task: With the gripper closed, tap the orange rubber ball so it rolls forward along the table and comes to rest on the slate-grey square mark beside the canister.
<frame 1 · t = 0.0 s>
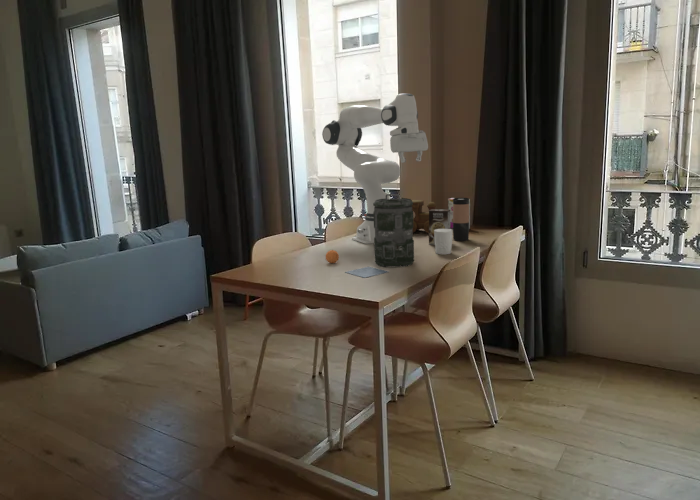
hand: (411, 161, 238), 39 cm above the table, tool pointing down, fingers open, 8 cm apart
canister: (394, 264, 215), on the table
coffee box: (439, 244, 252), on the table
white cup: (443, 253, 232), on the table
ball: (332, 256, 220), on the table
mark: (366, 272, 203), on the table
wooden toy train: (422, 232, 285), on the table
candy bar box: (458, 229, 289), on the table
travel mug: (460, 240, 259), on the table
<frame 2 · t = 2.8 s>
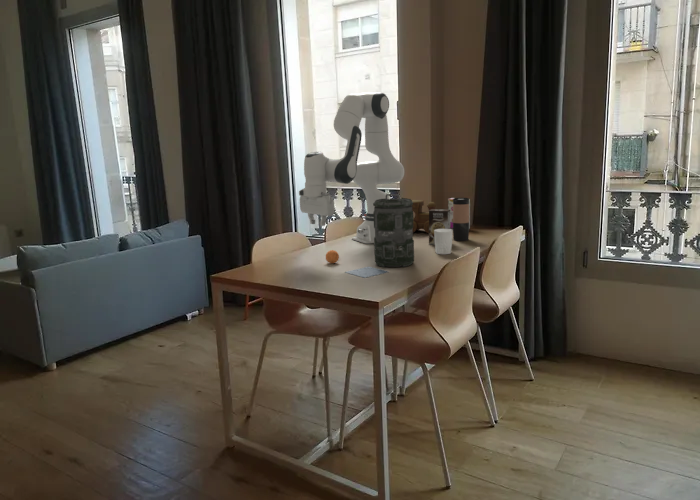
hand: (317, 224, 224), 15 cm above the table, tool pointing down, fingers open, 6 cm apart
nothing on the table moved.
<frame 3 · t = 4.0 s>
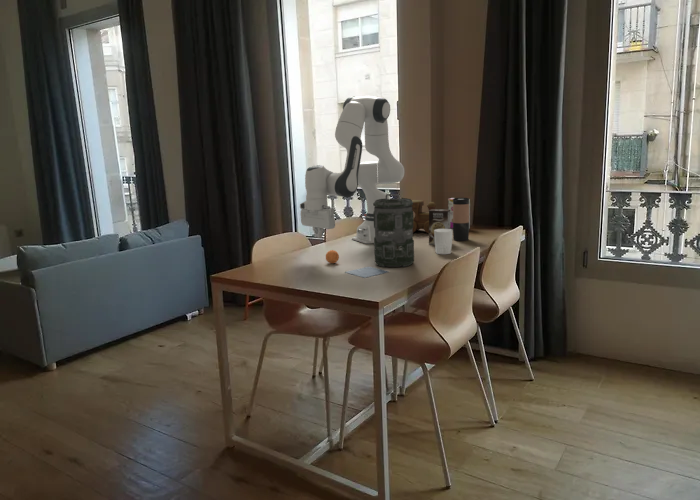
hand: (318, 237, 225), 10 cm above the table, tool pointing down, fingers closed
nothing on the table moved.
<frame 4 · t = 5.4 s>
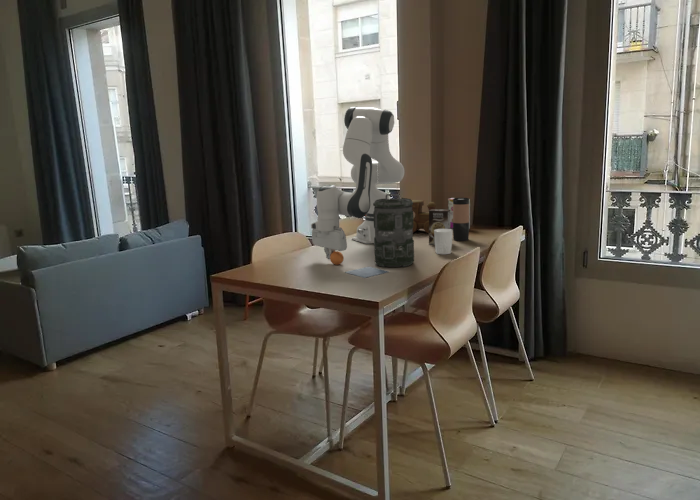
hand: (330, 258, 220), 2 cm above the table, tool pointing down, fingers closed
ball: (336, 258, 217), on the table
everything else where it was.
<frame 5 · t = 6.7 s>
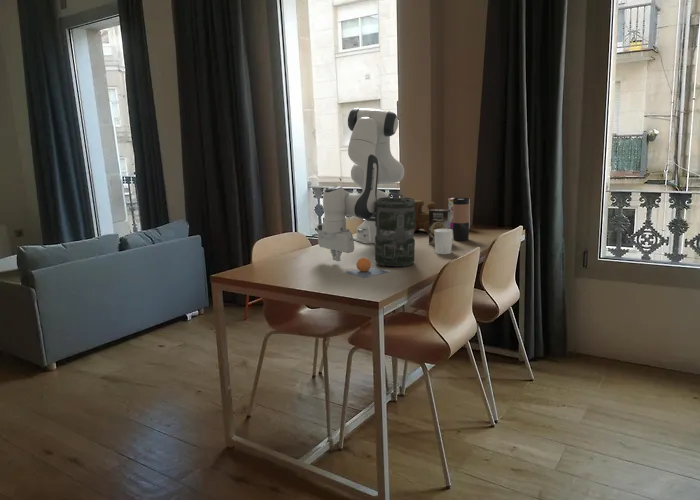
hand: (336, 260, 217), 2 cm above the table, tool pointing down, fingers closed
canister: (394, 263, 215), on the table, touching arm
ball: (363, 264, 203), on the table
everything else where it was.
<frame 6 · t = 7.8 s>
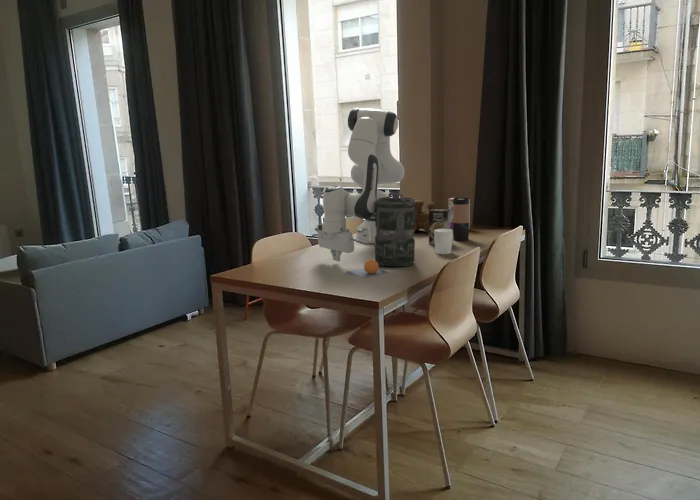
hand: (336, 260, 217), 2 cm above the table, tool pointing down, fingers closed
ball: (371, 266, 200), on the table
everything else where it was.
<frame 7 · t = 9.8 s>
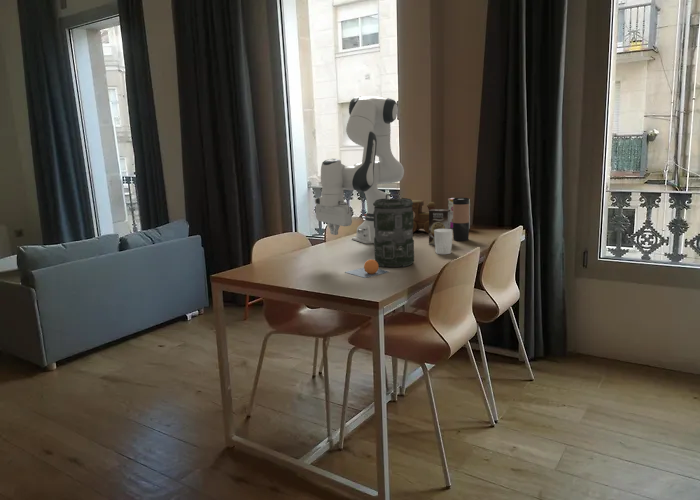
hand: (334, 234, 216), 12 cm above the table, tool pointing down, fingers closed
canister: (394, 264, 215), on the table
everything else where it was.
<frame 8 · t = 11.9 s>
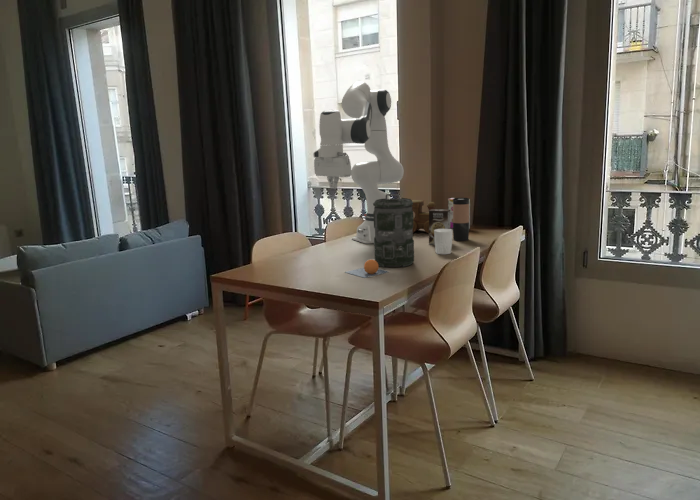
hand: (333, 188, 211), 31 cm above the table, tool pointing down, fingers closed
nothing on the table moved.
at the end: ball 3.3 cm from the mark (horizontally); ball at rest at the end (0.0 cm/s); ball moved 25.2 cm from its start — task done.
